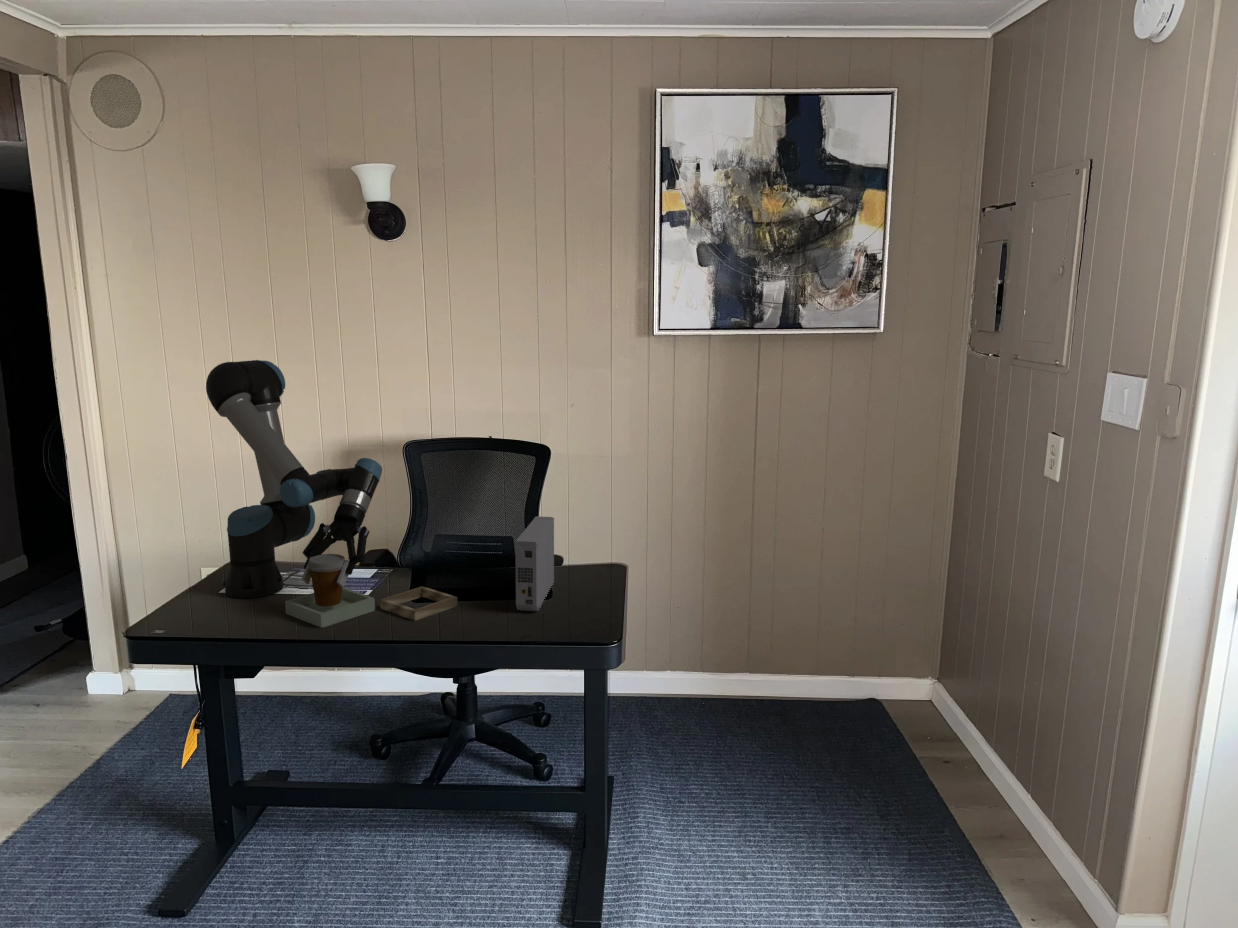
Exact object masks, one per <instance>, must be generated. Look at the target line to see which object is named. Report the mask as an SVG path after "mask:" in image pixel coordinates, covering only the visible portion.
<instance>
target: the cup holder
mask: <svg viewBox="0 0 1238 928" xmlns="http://www.w3.org/2000/svg"><path fill="white" fill-rule="evenodd" d="M419 598H425V599H428V600H431V601H434V602H433V603H429V604H427V605H425V606H422V607H418V608H416V609H415V608H414V607H413V608H412V607H410V606H407V605H404V604H405V603H408V602H410V601H413V600H417V599H419ZM455 607H458V596H454V595H452V594H450V593H449V594H448V593H446V592H442V591H439V590H436V589H434V588H433V589H432V588H430V587H426V586H419V587H415V588H412V589H409V590H407V591H403V592H400V593H397V594H393V595H390V596H387V597H384V598H381V599H379V609H380V610H384V611H386V612H388V611H389V613H391V612H392V614H394V615H397V614H398V615H397V616H400V617H404V618H406V619H409V620H412V621H413V622H416V621H418V620H422V619H424V618H428V617H429V616H432V615H436V614H439V613H441V612H444V611H447V610H450V609H452V608H455Z"/></svg>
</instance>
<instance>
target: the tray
mask: <svg viewBox="0 0 1238 928" xmlns="http://www.w3.org/2000/svg"><path fill="white" fill-rule="evenodd" d="M375 602H376V600H375V597H372V596H369V595H367V594H364V593H361V592H358V591H355V590H353V589H349V588H346V587H345V586H344V587H342V595H341V602H340V603H339V604H337V605H334V606H328V607H324V606H318V605H316V603H315V596H314V592H312V593H308V594H305V595H301V596H298V597H295V598H291V599H288V600H287V599H286V600H285V601H284V603H285V614H286V615H289V616H291V617H293V618H296V619H298V620H301V621H303V622H306V623H309V624H311V625H313V626H316V627H318V628H321V629H323V628H326V627H329V626H332V625H335V624H338V623H341V622H344V621H348V620H350V619H353V618H356V617H359V616H360V617H361V616H363V615H366V614H368V613H372V612H375V611H376V605H375V604H376V603H375ZM322 627H323V628H322Z"/></svg>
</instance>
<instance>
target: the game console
mask: <svg viewBox="0 0 1238 928" xmlns="http://www.w3.org/2000/svg"><path fill="white" fill-rule="evenodd" d="M514 546H515V547H514V548H515V550H514V552H515V554H514V555H515V556H514V557H515V606H516V610H517V611H518V610H520V612H521V611H522V612H524V611H525V612H539V611H540V609H541V607H542V606H541V605H543V604H544V602H545V600H546V598H547V596H548V595H547V594H549V593H550V591H551V589H552V587H553V586H552V585H554V584H553V583H555V518H554V517H552V516H537V515H536V516H535V517H534V518H533V519H532V521H531V522H529V524H528V526H527V527H526V528H525V529H524V530H523V532H522V533H521V534H520V535H519V536H518V537H517V539H516V540H515V542H514ZM551 586H552V587H551ZM550 588H551V589H550ZM549 590H550V591H549ZM548 592H549V593H548ZM545 597H546V598H545ZM544 599H545V600H544ZM543 601H544V602H543ZM542 603H543V604H542ZM539 608H540V609H539ZM538 610H539V611H538Z"/></svg>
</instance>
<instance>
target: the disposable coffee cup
mask: <svg viewBox="0 0 1238 928" xmlns="http://www.w3.org/2000/svg"><path fill="white" fill-rule="evenodd" d="M345 560H346V558H345V557H344V555H341V554H336V553H322V554H321V555H317V556H314V557H312V558H310V561H309V563H308V567H309V569H310V572H311V583H312V590H313V593H314V596H315V603H316V605H318V606H324V607H328V606H334V605H337V604H339V603H340V602H341V595H342V587H341V586H340V585H339V584H338V583H337V580H338V578H339V575H340V573H341V570H342V568H343V565H344V563H345Z"/></svg>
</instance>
